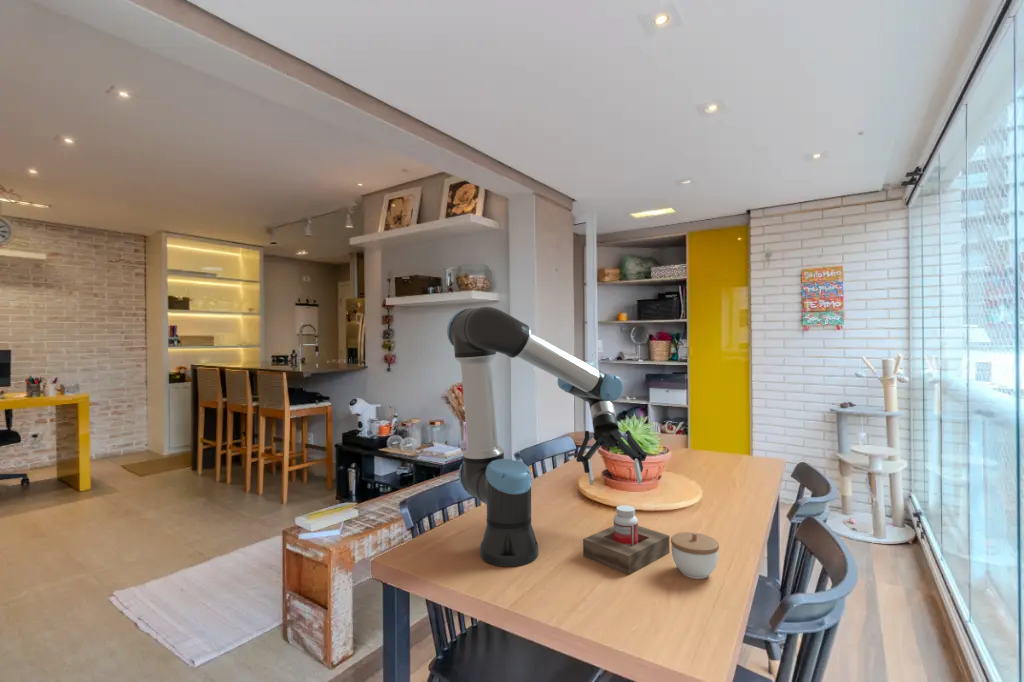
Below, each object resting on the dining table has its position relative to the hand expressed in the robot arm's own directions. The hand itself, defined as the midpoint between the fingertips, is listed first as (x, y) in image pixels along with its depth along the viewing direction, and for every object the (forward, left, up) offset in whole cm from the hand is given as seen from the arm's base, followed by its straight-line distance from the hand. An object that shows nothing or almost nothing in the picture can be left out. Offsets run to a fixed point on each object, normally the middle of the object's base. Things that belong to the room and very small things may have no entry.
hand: (616, 482), depth 142 cm
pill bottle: (-7, -8, -15) cm, 18 cm away
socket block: (-7, -8, -16) cm, 19 cm away
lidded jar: (-3, -25, -16) cm, 30 cm away
